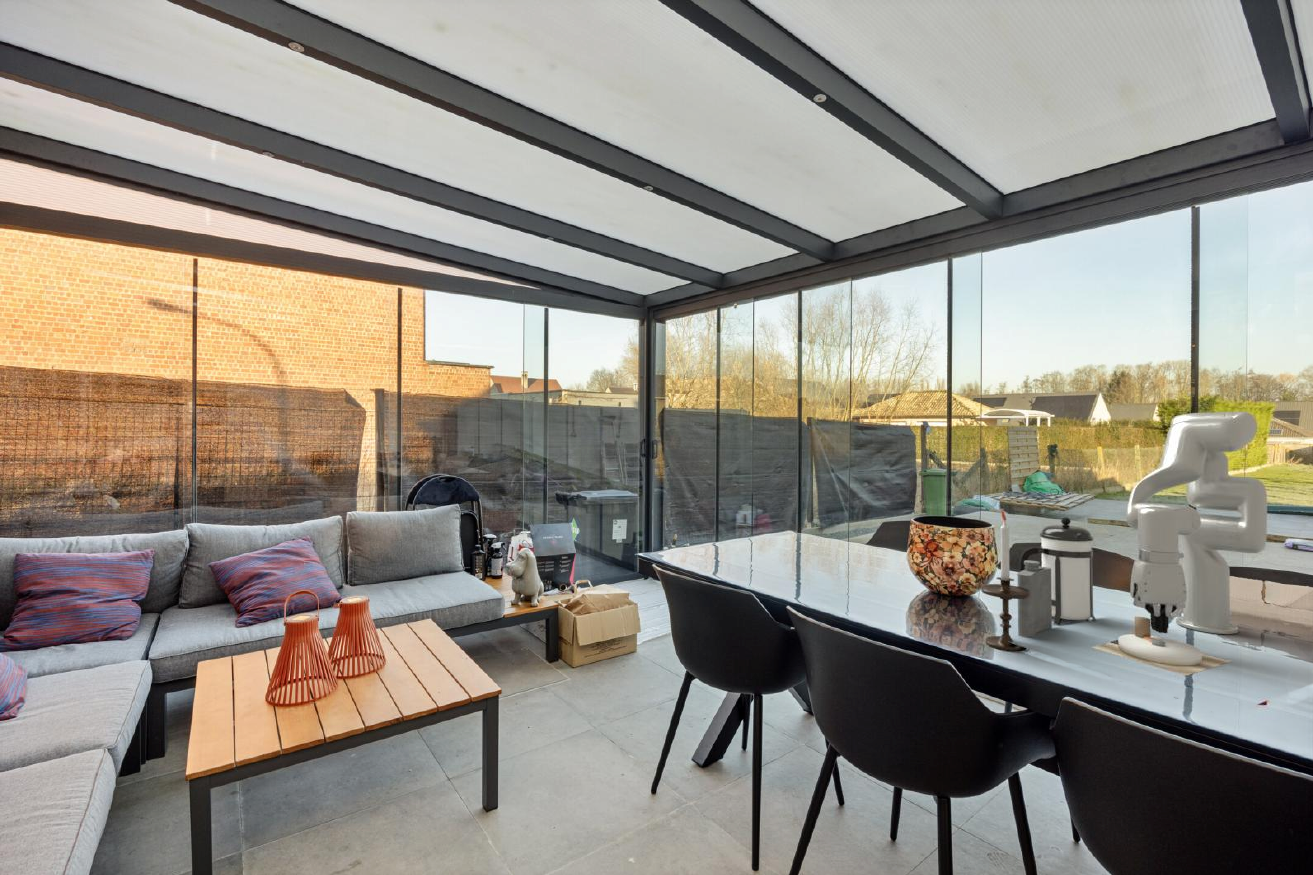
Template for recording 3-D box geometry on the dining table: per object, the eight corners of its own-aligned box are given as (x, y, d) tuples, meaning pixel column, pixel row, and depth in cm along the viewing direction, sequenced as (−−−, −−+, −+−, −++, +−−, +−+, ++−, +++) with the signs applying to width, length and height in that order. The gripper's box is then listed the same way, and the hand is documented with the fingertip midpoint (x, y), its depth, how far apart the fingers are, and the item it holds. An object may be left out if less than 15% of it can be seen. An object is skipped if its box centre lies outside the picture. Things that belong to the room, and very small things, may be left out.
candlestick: (988, 650, 145) (986, 510, 145) (976, 636, 156) (975, 506, 156) (1037, 654, 142) (1036, 512, 143) (1022, 640, 153) (1021, 507, 153)
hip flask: (1029, 643, 150) (1028, 566, 150) (1012, 639, 153) (1011, 563, 154) (1053, 631, 160) (1052, 558, 160) (1037, 627, 163) (1036, 556, 163)
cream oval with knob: (1219, 667, 129) (1218, 638, 129) (1142, 662, 132) (1142, 634, 132) (1169, 642, 146) (1168, 616, 146) (1101, 638, 148) (1101, 613, 149)
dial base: (1135, 642, 151) (1135, 635, 151) (1231, 667, 133) (1231, 660, 133) (1091, 653, 143) (1090, 646, 143) (1186, 682, 126) (1186, 673, 126)
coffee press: (1048, 608, 181) (1046, 512, 181) (1108, 622, 167) (1107, 518, 167) (1018, 617, 172) (1017, 516, 172) (1079, 632, 158) (1078, 522, 158)
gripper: (1182, 554, 146) (1183, 627, 146) (1115, 553, 149) (1116, 625, 148) (1204, 560, 138) (1205, 637, 138) (1133, 559, 141) (1135, 635, 141)
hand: (1159, 631), depth 143 cm, fingers closed
